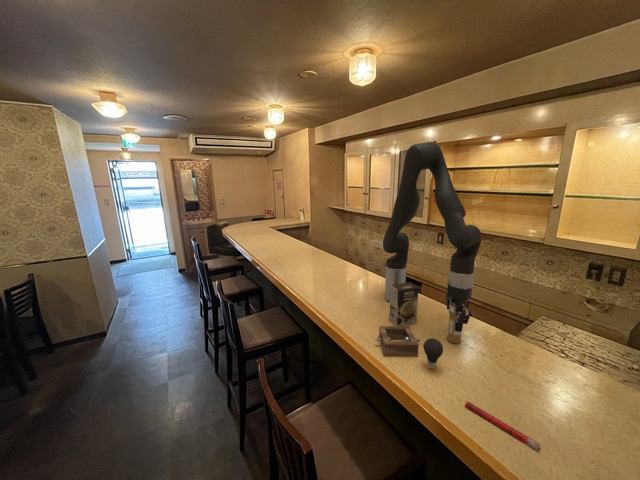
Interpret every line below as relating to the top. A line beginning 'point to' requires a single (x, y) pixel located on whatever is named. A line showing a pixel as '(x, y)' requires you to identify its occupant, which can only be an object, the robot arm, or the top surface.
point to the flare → (503, 426)
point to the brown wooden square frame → (398, 347)
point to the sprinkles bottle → (453, 328)
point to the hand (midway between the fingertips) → (455, 326)
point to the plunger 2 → (409, 339)
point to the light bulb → (433, 351)
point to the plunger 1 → (382, 339)
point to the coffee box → (403, 304)
